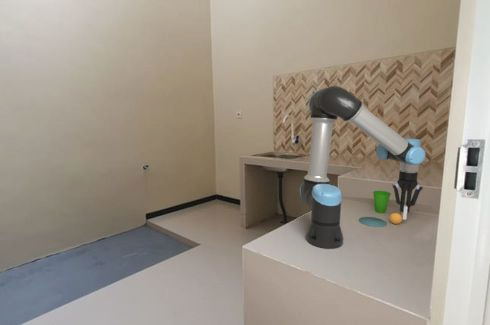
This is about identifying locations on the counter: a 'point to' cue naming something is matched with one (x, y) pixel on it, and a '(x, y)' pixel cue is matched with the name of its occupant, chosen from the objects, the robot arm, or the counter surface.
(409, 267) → the counter surface
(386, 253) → the counter surface
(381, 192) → the green tapered cylinder
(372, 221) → the teal ellipsoid
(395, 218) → the ball
